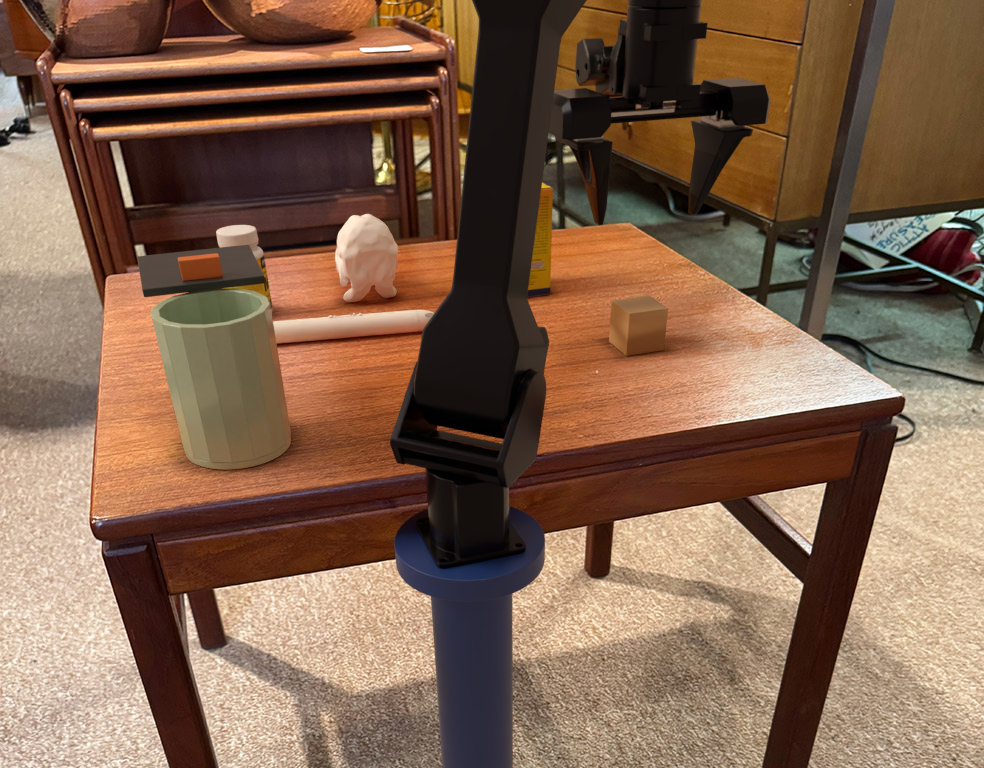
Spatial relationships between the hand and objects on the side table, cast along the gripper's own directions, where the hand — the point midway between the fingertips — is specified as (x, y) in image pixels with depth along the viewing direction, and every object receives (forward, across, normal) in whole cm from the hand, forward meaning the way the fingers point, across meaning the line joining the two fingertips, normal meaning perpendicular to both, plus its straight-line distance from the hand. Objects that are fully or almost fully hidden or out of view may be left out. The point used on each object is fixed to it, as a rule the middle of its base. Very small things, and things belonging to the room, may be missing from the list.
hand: (646, 219), depth 83 cm
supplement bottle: (+12, +34, -23) cm, 43 cm away
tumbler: (+12, +39, +8) cm, 41 cm away
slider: (0, +39, 0) cm, 39 cm away
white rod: (+12, +25, -12) cm, 30 cm away
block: (+12, 0, 0) cm, 12 cm away
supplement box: (+12, +5, -20) cm, 24 cm away
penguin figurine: (+12, +21, -26) cm, 35 cm away
